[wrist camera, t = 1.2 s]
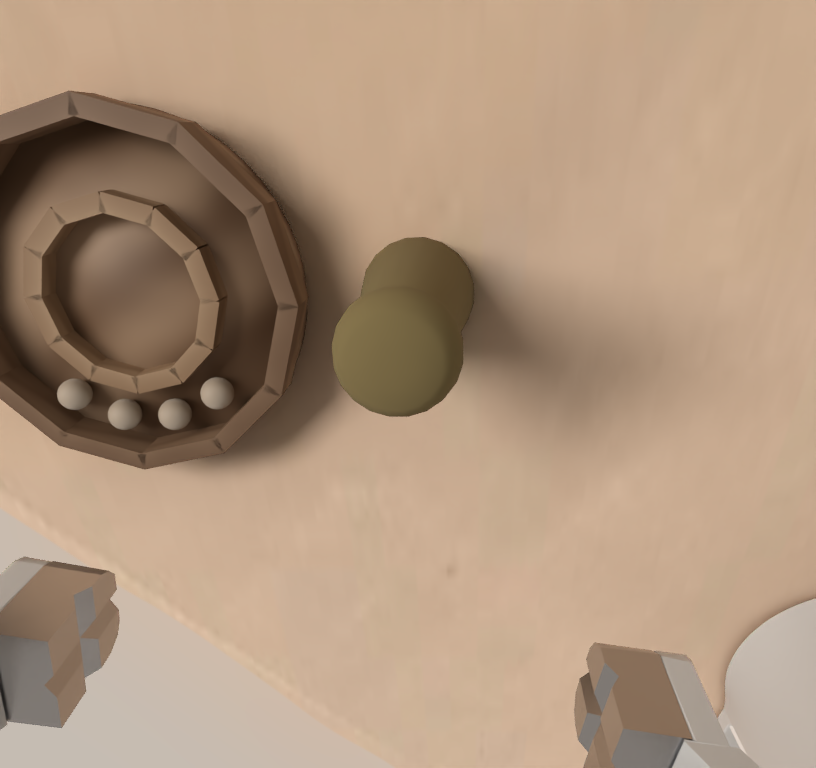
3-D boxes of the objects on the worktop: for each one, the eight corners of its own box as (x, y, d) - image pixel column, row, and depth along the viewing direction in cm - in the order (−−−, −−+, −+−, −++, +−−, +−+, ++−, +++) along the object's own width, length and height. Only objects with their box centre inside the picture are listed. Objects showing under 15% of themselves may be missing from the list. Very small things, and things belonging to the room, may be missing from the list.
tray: (378, 293, 32) (369, 308, 30) (177, 493, 39) (155, 521, 36) (90, 10, 29) (49, -3, 26) (-80, 285, 35) (-127, 298, 32)
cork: (465, 354, 33) (461, 450, 23) (357, 339, 34) (308, 428, 24) (482, 245, 31) (487, 299, 21) (366, 229, 31) (315, 276, 21)
